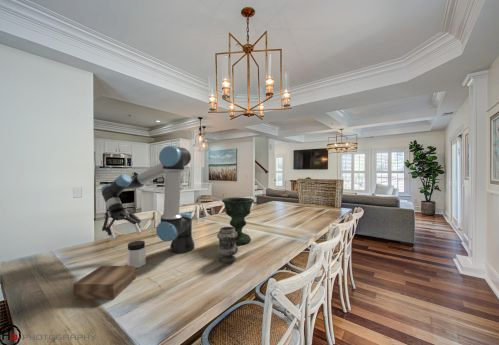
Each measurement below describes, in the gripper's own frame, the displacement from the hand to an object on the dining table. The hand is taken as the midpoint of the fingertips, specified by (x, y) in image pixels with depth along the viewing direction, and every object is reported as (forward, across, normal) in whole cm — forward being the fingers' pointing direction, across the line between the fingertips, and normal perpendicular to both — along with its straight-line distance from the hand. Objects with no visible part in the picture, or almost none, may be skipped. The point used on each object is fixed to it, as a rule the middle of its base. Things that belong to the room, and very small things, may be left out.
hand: (127, 236), depth 120 cm
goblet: (+31, -62, +11) cm, 70 cm away
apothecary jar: (+41, -34, +21) cm, 58 cm away
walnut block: (+25, +18, +5) cm, 31 cm away
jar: (+16, 0, -3) cm, 17 cm away
